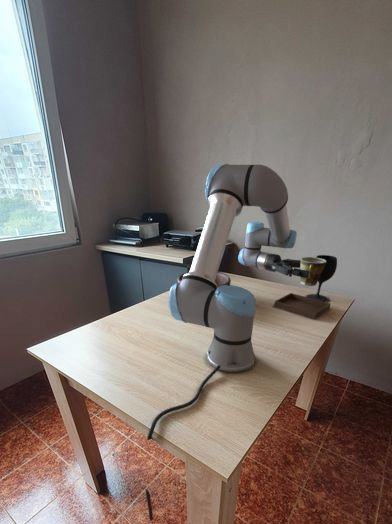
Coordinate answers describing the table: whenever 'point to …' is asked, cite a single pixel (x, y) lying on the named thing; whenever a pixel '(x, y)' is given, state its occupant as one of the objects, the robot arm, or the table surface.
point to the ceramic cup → (312, 269)
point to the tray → (302, 305)
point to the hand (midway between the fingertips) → (315, 271)
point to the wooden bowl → (220, 279)
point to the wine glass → (325, 275)
